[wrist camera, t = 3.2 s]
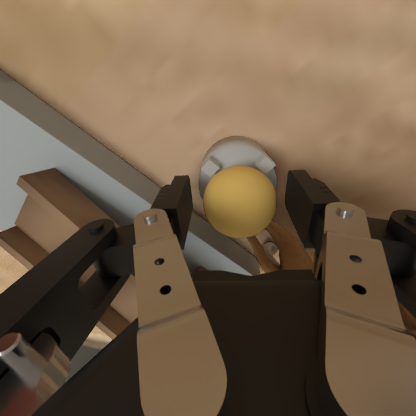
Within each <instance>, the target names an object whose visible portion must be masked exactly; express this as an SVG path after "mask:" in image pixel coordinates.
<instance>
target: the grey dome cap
mask: <svg viewBox="0 0 416 416" xmlns="http://www.w3.org/2000/svg"><path fill="white" fill-rule="evenodd" d="M237 165H243V166H249V167H252V168H255V169H257V170H259V171H260V172H262V173H263V174H264V175H265V176H266V177H267V178H268V179H269V180H270V182H271V183H272V185H273V187H274V189H275V190H276V185H277V178H276V173H275V170H274V168H273V167H274V166H276V164H275V163H274V161H273V160H272V159H271V158H270V157H269V156H268V155H267V154H266V153H265V151H264V149H263V148H262V147H261V146H260V145H259V144H258V143H257V142H255V141H254V140H252V139H250V138H247V137H242V136H231V137H227V138H224V139H222V140H220V141H218V142H216V143H215V144H214V145H213V146H212V147H211V148H210V149H209V150H208V151H207V153H206V155H205V157H204V160H203V163H202V165H201V173H200V178H199V191H200V195H201V197H202V199H203V198H204V193H205V189H206V187H207V185H208V183H209V182H210V180H211V179H212V178H213V177H214V176H215V175H216V174H217V173H218V172H220V171H221V170H223V169H225V168H228V167H231V166H237ZM205 215H206V214H205Z"/></svg>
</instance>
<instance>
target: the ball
mask: <svg viewBox="0 0 416 416" xmlns="http://www.w3.org/2000/svg"><path fill="white" fill-rule="evenodd" d="M203 206H204V211H205V214H206V217H207V219H208V221H209V222H210V224H211V225H212V226H213V227H214V228H215V229H216V230H217V231H219V232H220V233H222V234H224V235H226V236H229V237H233V238H247V237H251V236H254V235H256V234H258V233H259V232H261V231H262V230H264V229H265V228H266V227H267V226H268V225H269V223H270V222H271V220H272V218H273V216H274V214H275V211H276V206H277V198H276V193H275V189H274V187H273V185H272V183H271V182H270V180H269V179H268V178H267V177H266V176H265V175H264V174H263V173H262V172H260V171H259V170H257V169H255V168H252V167H249V166H243V165H237V166H231V167H228V168H225V169H223V170H221V171H220V172H218V173H217V174H216V175H215V176H214V177H213V178H212V179H211V180H210V182H209V183H208V185H207V187H206V189H205V193H204V198H203Z"/></svg>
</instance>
